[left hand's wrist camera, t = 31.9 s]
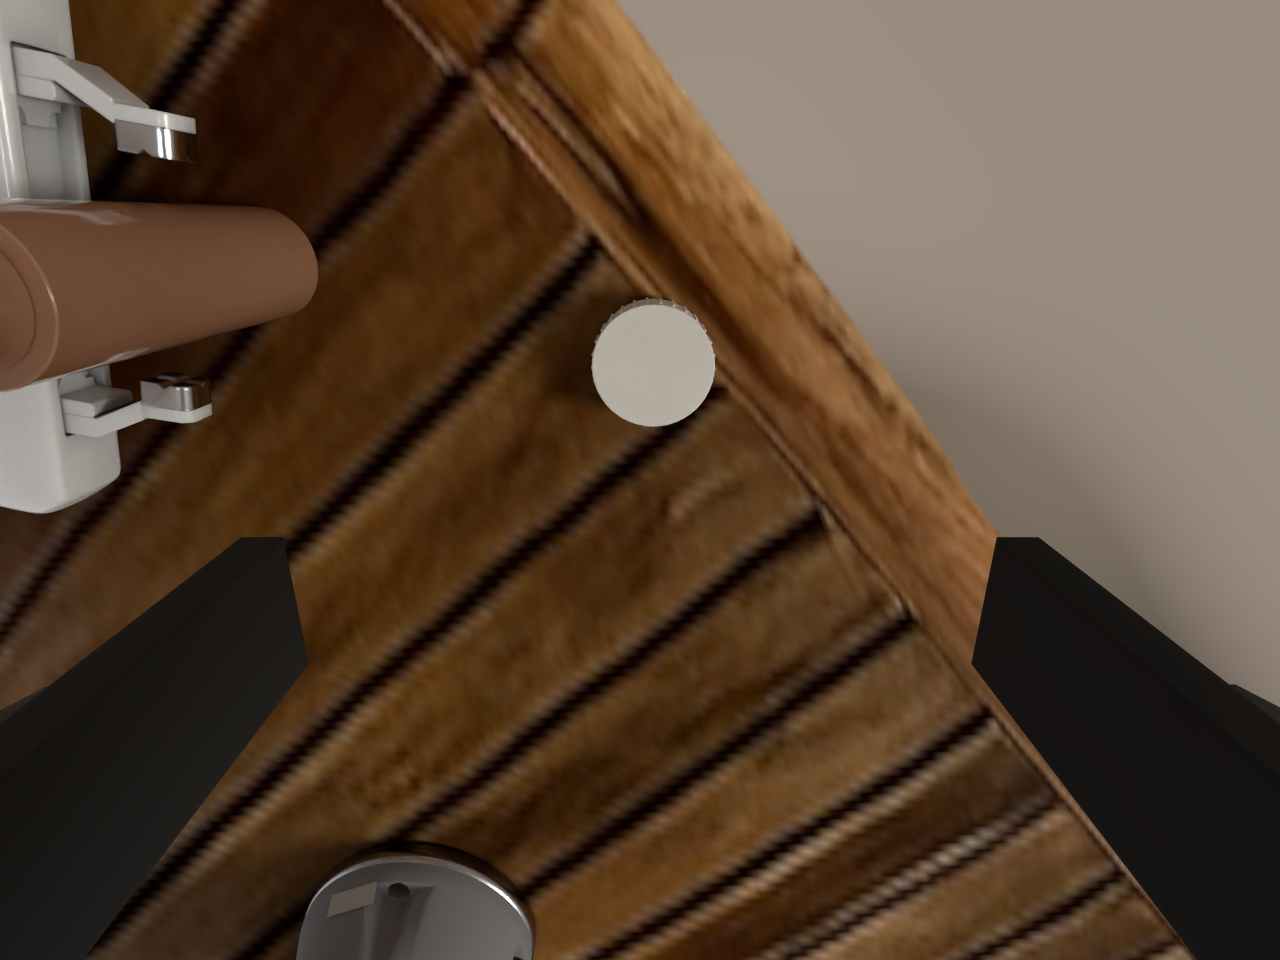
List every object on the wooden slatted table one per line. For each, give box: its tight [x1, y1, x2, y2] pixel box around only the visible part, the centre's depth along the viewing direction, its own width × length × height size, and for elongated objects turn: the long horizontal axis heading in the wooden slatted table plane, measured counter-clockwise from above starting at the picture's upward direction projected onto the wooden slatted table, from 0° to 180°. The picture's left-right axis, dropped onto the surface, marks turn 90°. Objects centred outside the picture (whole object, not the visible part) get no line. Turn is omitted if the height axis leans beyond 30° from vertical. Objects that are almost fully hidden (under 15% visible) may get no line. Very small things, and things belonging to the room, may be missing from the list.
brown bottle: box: [0, 198, 318, 393], centre depth 23 cm, size 5×5×17 cm
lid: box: [591, 297, 715, 426], centre depth 31 cm, size 6×6×2 cm
